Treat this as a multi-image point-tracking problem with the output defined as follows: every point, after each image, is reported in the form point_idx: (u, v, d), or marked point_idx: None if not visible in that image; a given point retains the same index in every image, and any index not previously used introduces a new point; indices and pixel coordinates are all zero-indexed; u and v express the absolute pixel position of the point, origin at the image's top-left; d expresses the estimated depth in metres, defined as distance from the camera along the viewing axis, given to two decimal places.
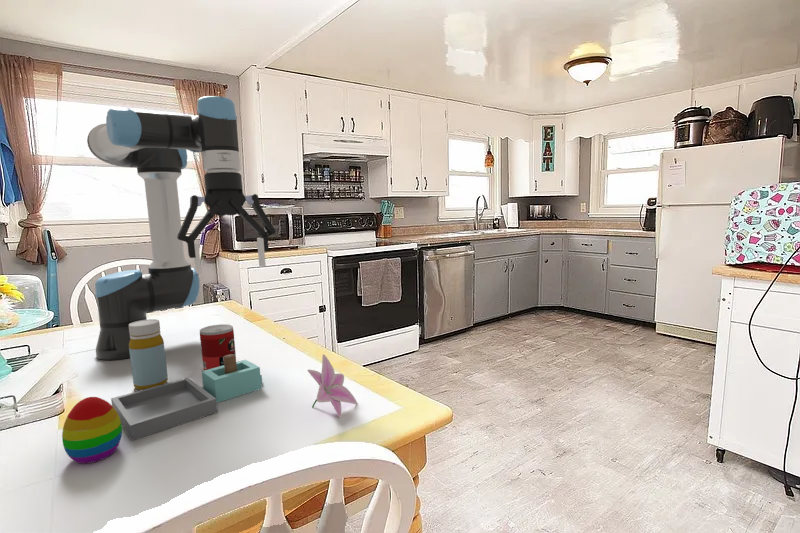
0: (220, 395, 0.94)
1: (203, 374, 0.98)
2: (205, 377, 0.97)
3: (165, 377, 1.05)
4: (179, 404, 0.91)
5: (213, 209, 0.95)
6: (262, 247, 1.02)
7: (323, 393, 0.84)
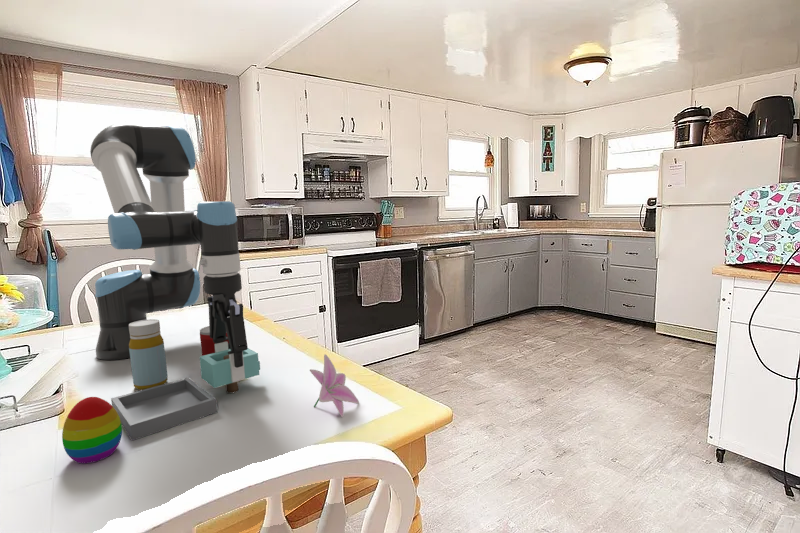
0: (218, 380, 0.94)
1: (201, 359, 0.98)
2: (203, 362, 0.97)
3: (165, 377, 1.05)
4: (179, 404, 0.91)
5: (213, 311, 0.98)
6: (230, 362, 0.95)
7: (325, 393, 0.85)
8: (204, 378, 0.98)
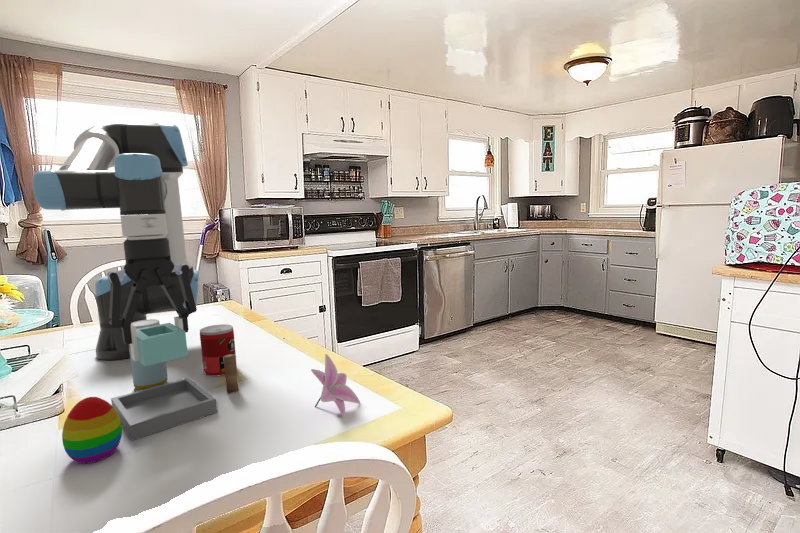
0: None
1: (148, 341, 0.82)
2: (154, 341, 0.83)
3: (165, 377, 1.05)
4: (179, 404, 0.91)
5: (139, 283, 0.83)
6: None
7: (327, 392, 0.85)
8: (155, 361, 0.83)
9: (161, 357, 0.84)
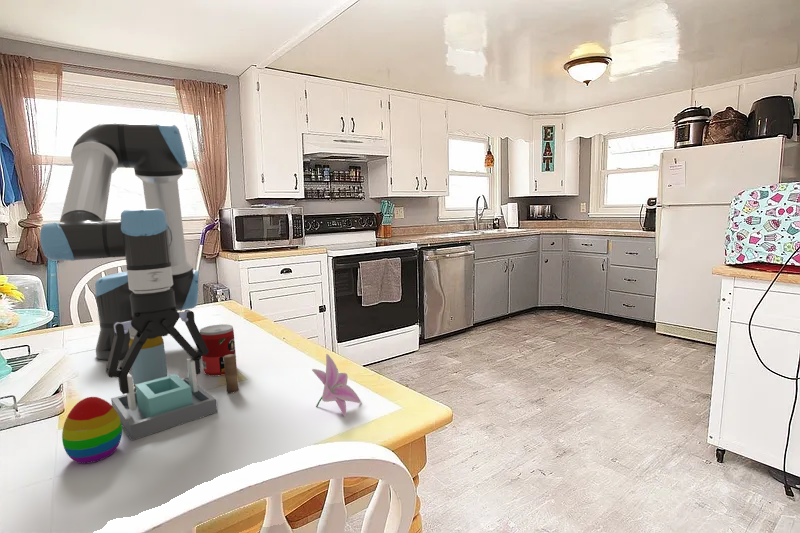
0: None
1: (155, 399, 0.83)
2: (161, 399, 0.84)
3: None
4: None
5: (143, 335, 0.84)
6: (193, 371, 0.91)
7: (328, 392, 0.85)
8: None
9: None
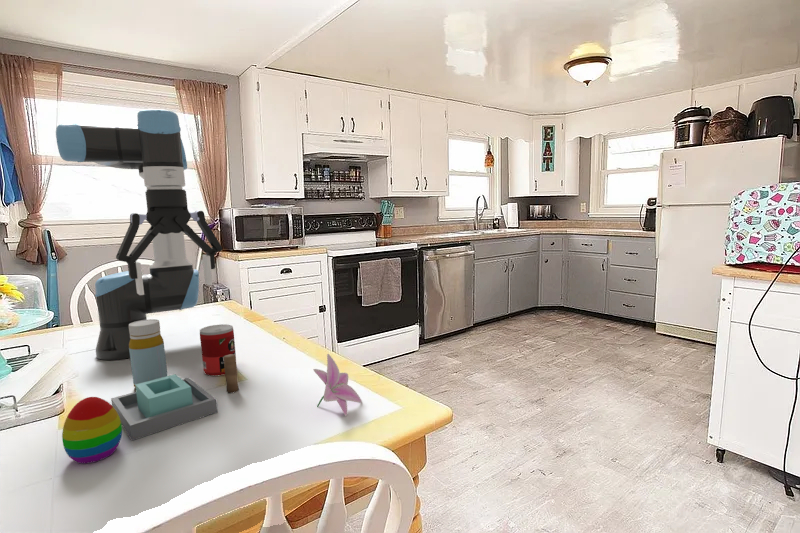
0: None
1: (155, 399, 0.83)
2: (161, 399, 0.84)
3: None
4: None
5: (156, 227, 0.91)
6: (209, 265, 0.99)
7: (329, 392, 0.85)
8: None
9: None
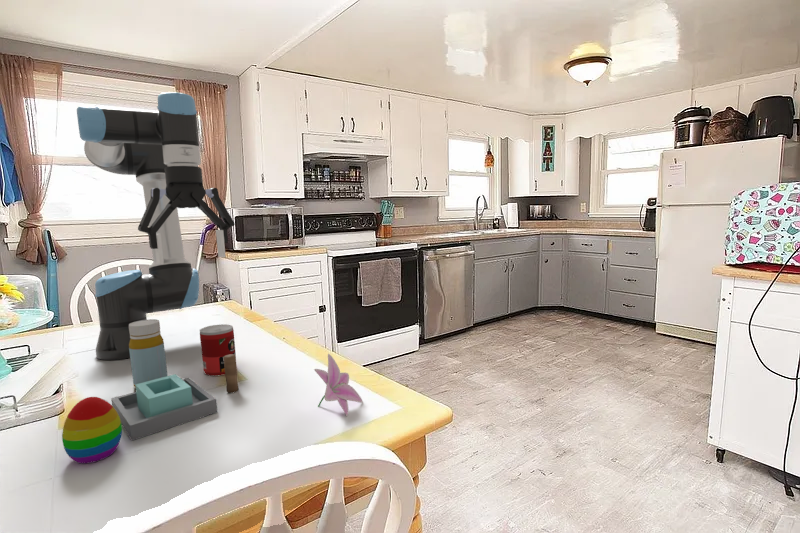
0: None
1: (155, 399, 0.83)
2: (161, 399, 0.84)
3: None
4: None
5: (175, 201, 0.98)
6: (222, 238, 1.06)
7: (330, 392, 0.85)
8: None
9: None
